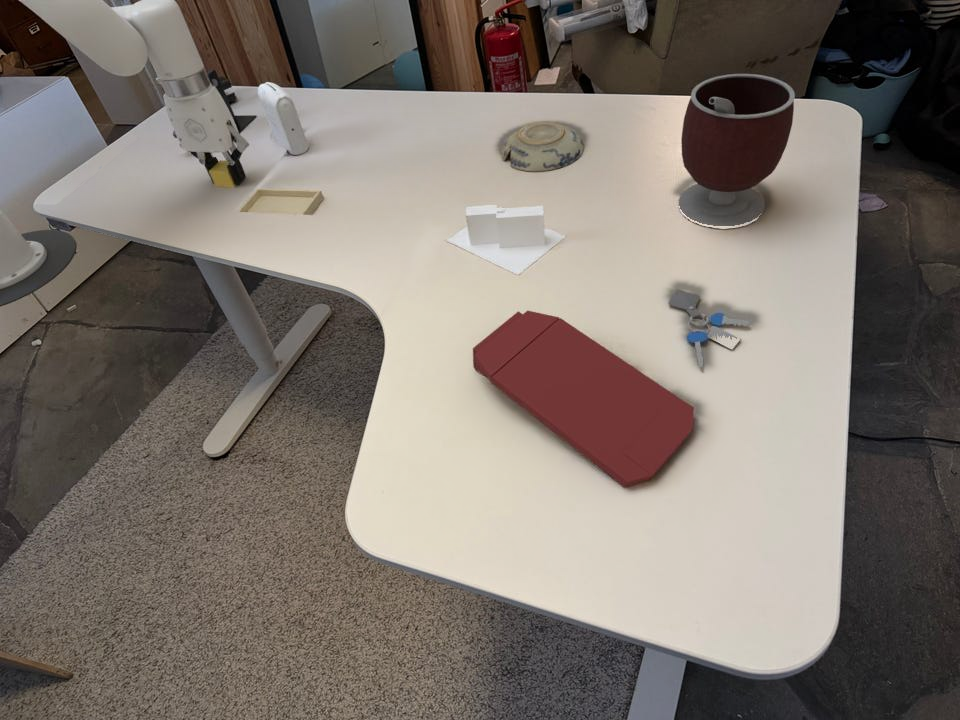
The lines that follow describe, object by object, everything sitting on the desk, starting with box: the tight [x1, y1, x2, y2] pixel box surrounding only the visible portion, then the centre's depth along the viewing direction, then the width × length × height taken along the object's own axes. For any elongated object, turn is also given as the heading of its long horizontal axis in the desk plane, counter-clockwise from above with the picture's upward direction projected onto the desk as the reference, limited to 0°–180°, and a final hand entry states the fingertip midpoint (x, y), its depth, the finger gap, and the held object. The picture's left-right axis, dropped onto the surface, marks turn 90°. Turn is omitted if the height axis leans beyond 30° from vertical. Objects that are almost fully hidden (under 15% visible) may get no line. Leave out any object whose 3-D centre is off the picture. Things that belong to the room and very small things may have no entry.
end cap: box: [218, 76, 238, 103], centre depth 140 cm, size 10×7×7 cm
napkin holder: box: [446, 204, 567, 276], centre depth 91 cm, size 15×11×6 cm
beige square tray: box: [236, 188, 324, 216], centre depth 105 cm, size 13×13×2 cm
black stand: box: [206, 69, 258, 135], centre depth 127 cm, size 12×10×13 cm
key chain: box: [667, 289, 751, 369], centre depth 75 cm, size 14×8×1 cm, turn 5°
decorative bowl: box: [500, 120, 585, 173], centre depth 109 cm, size 15×4×15 cm
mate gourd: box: [678, 73, 796, 226], centre depth 84 cm, size 16×14×20 cm
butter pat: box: [209, 160, 237, 188], centre depth 113 cm, size 4×4×3 cm
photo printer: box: [257, 81, 309, 156], centre depth 119 cm, size 10×4×12 cm, turn 37°
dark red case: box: [472, 310, 694, 488], centre depth 69 cm, size 12×5×25 cm
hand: (229, 179), depth 114 cm, fingers closed on butter pat, 4 cm apart
